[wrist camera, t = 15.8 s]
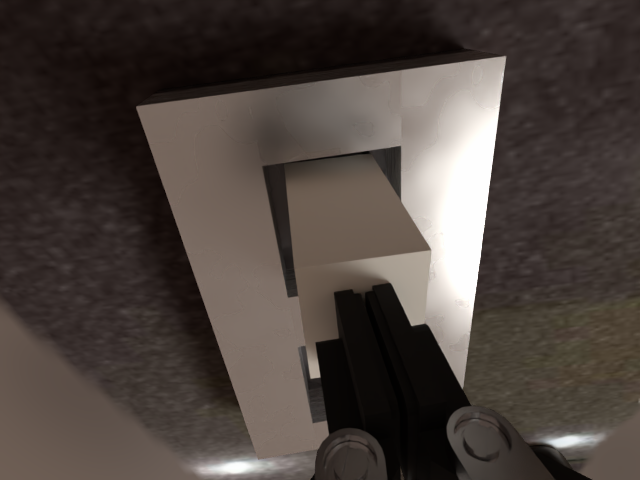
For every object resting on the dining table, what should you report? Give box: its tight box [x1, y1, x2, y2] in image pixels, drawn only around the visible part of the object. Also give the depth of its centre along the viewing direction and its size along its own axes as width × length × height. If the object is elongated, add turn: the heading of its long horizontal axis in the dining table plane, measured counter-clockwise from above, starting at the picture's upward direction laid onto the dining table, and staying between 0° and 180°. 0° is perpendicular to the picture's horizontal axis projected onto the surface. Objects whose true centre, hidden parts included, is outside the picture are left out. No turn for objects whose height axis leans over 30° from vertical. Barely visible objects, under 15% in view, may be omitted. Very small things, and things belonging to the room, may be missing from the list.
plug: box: [284, 154, 432, 379], centre depth 14 cm, size 4×4×7 cm
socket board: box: [136, 49, 506, 460], centre depth 19 cm, size 20×12×3 cm, turn 6°
